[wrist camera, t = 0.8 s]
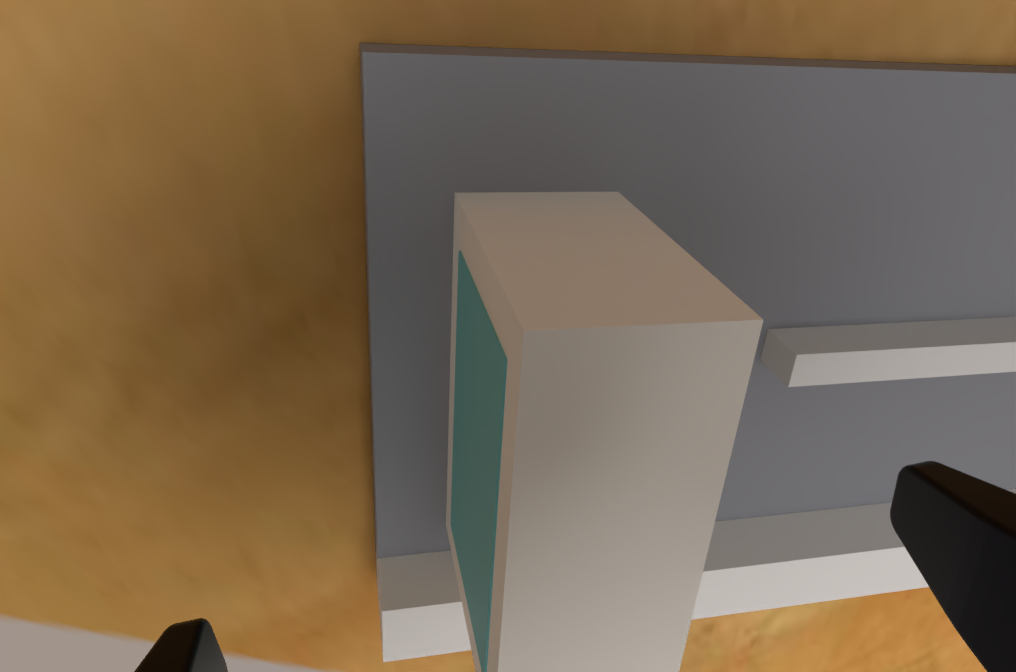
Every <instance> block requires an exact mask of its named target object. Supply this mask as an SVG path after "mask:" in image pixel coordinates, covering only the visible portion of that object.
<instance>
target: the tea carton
mask: <svg viewBox="0 0 1016 672" xmlns="http://www.w3.org/2000/svg"><path fill="white" fill-rule="evenodd" d="M762 324H763V319H762V318H761V317H760V316H759V315H758V314H757V313H756V312H754V311H753V310H752V309H751V308H750V307H749V306H748V305H746V304H745V303H744V302H743V301H742V300H741V299H740V298H738V297H737V296H736V295H735V294H734V293H733V292H732V291H731V290H729V289H728V288H727V287H726V286H725V285H724V284H723V283H721V282H720V281H719V280H718V279H717V278H716V277H715V276H713V275H712V274H711V273H710V272H709V271H708V270H707V269H705V268H704V267H703V266H702V265H701V264H700V263H699V262H698V261H696V260H695V259H694V258H693V257H692V256H691V255H690V254H688V253H687V252H686V251H685V250H684V249H683V248H682V247H680V246H679V245H678V244H677V243H676V242H675V241H674V240H673V239H671V238H670V237H669V236H668V235H667V234H666V233H665V232H663V231H662V230H661V229H660V228H659V227H658V226H657V225H655V224H654V223H653V222H652V221H651V220H650V219H649V218H648V217H646V216H645V215H644V214H643V213H642V212H641V211H640V210H638V209H637V208H636V207H635V206H634V205H633V204H632V203H630V202H629V201H628V200H627V199H626V198H625V197H624V196H623V195H621V194H620V193H619V192H471V193H455V197H454V236H453V274H452V312H451V351H450V389H449V428H448V466H447V505H446V528H447V533H448V538H449V543H450V547H451V552H452V557H453V562H454V567H455V572H456V577H457V582H458V587H459V591H460V596H461V601H462V606H463V611H464V616H465V621H466V626H467V631H468V635H469V640H470V645H471V650H472V655H473V660H474V665H475V670H476V672H679V669H680V665H681V661H682V657H683V652H684V648H685V644H686V640H687V636H688V632H689V628H690V623H691V619H692V615H693V611H694V607H695V603H696V598H697V594H698V590H699V586H700V582H701V578H702V573H703V569H704V565H705V561H706V557H707V553H708V549H709V544H710V540H711V536H712V532H713V528H714V524H715V519H716V515H717V511H718V507H719V503H720V499H721V495H722V490H723V486H724V482H725V478H726V474H727V470H728V465H729V461H730V457H731V453H732V449H733V445H734V441H735V436H736V432H737V428H738V424H739V420H740V416H741V411H742V407H743V403H744V399H745V395H746V391H747V386H748V382H749V378H750V374H751V370H752V366H753V362H754V357H755V353H756V349H757V345H758V341H759V337H760V332H761V328H762Z"/></svg>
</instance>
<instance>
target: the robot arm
mask: <svg viewBox="0 0 1016 672" xmlns="http://www.w3.org/2000/svg"><path fill="white" fill-rule="evenodd" d="M890 519H891V523H892V526H893V528H894V530H895V532H896V534H897V535H898V537H899V539H900V540H901V542H902V544H903V545H904V547H905V548H906V550H907V552H908V553H909V555H910V557H911V558H912V560H913V561H914V563H915V565H916V566H917V568H918V570H919V571H920V573H921V574H922V576H923V578H924V579H925V581H926V583H927V584H928V586H929V587H930V589H931V591H932V592H933V594H934V595H935V597H936V599H937V600H938V602H939V604H940V605H941V607H942V608H943V610H944V612H945V613H946V615H947V616H948V618H949V619H950V621H951V622H952V624H953V626H954V627H955V629H956V630H957V631H958V633H959V634H960V636H961V637H962V638H963V640H964V641H965V643H966V644H967V645H968V647H969V648H970V649H971V651H972V652H973V653H974V655H975V656H976V657H977V659H978V660H979V661H980V663H981V664H982V665H983V667H984V668H985V669H986V671H987V672H1016V494H1015V493H1013V492H1010V491H1008V490H1005V489H1003V488H1001V487H998V486H996V485H993V484H991V483H988V482H986V481H983V480H981V479H978V478H976V477H973V476H971V475H968V474H966V473H963V472H961V471H958V470H956V469H953V468H951V467H948V466H946V465H944V464H941V463H938V462H935V461H925V462H920V463H915V464H911V465H906V466H904V467H903V468H902V469H901V470H900V471H899V473H898V477H897V481H896V486H895V490H894V495H893V499H892V504H891V508H890ZM134 672H228V671H227V666H226V663H225V659H224V657H223V654H222V652H221V649H220V647H219V644H218V642H217V639H216V637H215V634H214V632H213V629H212V627H211V625H210V623H209V622H208V621H207V620H206V619H203V618H199V619H194V620H190V621H185V622H181V623H176V624H173V625H171V626H169V627H168V628H167V629H166V630H165V631H164V632H163V634H162V635H161V636H160V638H159V639H158V640H157V642H156V643H155V644H154V646H153V647H152V649H151V650H150V651H149V653H148V654H147V655H146V657H145V658H144V659H143V661H142V662H141V664H140V665H139V666H138V667H137V669H136V670H135V671H134Z"/></svg>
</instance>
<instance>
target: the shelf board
mask: <svg viewBox="0 0 1016 672" xmlns="http://www.w3.org/2000/svg"><path fill="white" fill-rule="evenodd" d="M360 71H361V103H362V135H363V167H364V199H365V231H366V263H367V296H368V328H369V360H370V392H371V424H372V456H373V488H374V521H375V553H376V577H377V589H378V602H379V614H380V627H381V639H382V652H383V662H388V661H396V660H403V659H410V658H417V657H425V656H432V655H439V654H446V653H454V652H461V651H468V650H471V645H470V640H469V635H468V631H467V626H466V621H465V616H464V611H463V606H462V601H461V596H460V591H459V587H458V582H457V577H456V572H455V567H454V562H453V557H452V552H451V547H450V543H449V538H448V533H447V528H446V505H447V466H448V428H449V389H450V351H451V312H452V274H453V236H454V197H455V193H471V192H619V193H620V194H621V195H623V196H624V197H625V198H626V199H627V200H628V201H629V202H630V203H632V204H633V205H634V206H635V207H636V208H637V209H638V210H640V211H641V212H642V213H643V214H644V215H645V216H646V217H648V218H649V219H650V220H651V221H652V222H653V223H654V224H655V225H657V226H658V227H659V228H660V229H661V230H662V231H663V232H665V233H666V234H667V235H668V236H669V237H670V238H671V239H673V240H674V241H675V242H676V243H677V244H678V245H679V246H680V247H682V248H683V249H684V250H685V251H686V252H687V253H688V254H690V255H691V256H692V257H693V258H694V259H695V260H696V261H698V262H699V263H700V264H701V265H702V266H703V267H704V268H705V269H707V270H708V271H709V272H710V273H711V274H712V275H713V276H715V277H716V278H717V279H718V280H719V281H720V282H721V283H723V284H724V285H725V286H726V287H727V288H728V289H729V290H731V291H732V292H733V293H734V294H735V295H736V296H737V297H738V298H740V299H741V300H742V301H743V302H744V303H745V304H746V305H748V306H749V307H750V308H751V309H752V310H753V311H754V312H756V313H757V314H758V315H759V316H760V317H761V318H762V319H763V324H762V328H761V332H760V337H759V341H758V345H757V349H756V353H755V357H754V362H753V366H752V370H751V374H750V378H749V382H748V386H747V391H746V395H745V399H744V403H743V407H742V411H741V416H740V420H739V424H738V428H737V432H736V436H735V441H734V445H733V449H732V453H731V457H730V461H729V465H728V470H727V474H726V478H725V482H724V486H723V490H722V495H721V499H720V503H719V507H718V511H717V515H716V519H715V524H714V528H713V532H712V536H711V540H710V544H709V549H708V553H707V557H706V561H705V565H704V569H703V573H702V578H701V582H700V586H699V590H698V594H697V598H696V603H695V607H694V611H693V615H692V619H700V618H707V617H714V616H721V615H729V614H736V613H743V612H750V611H758V610H765V609H772V608H779V607H786V606H794V605H801V604H808V603H815V602H823V601H830V600H837V599H844V598H852V597H859V596H866V595H873V594H881V593H888V592H895V591H902V590H910V589H917V588H924V587H929V586H928V584H927V583H926V581H925V579H924V578H923V576H922V574H921V573H920V571H919V570H918V568H917V566H916V565H915V563H914V561H913V560H912V558H911V557H910V555H909V553H908V552H907V550H906V548H905V547H904V545H903V544H902V542H901V540H900V539H899V537H898V535H897V534H896V532H895V530H894V528H893V526H892V523H891V519H890V508H891V504H892V499H893V495H894V490H895V486H896V481H897V477H898V473H899V471H900V470H901V469H902V468H903V467H904V466H906V465H911V464H915V463H920V462H925V461H935V462H938V463H941V464H944V465H946V466H948V467H951V468H953V469H956V470H958V471H961V472H963V473H966V474H968V475H971V476H973V477H976V478H978V479H981V480H983V481H986V482H988V483H991V484H993V485H996V486H998V487H1001V488H1003V489H1005V490H1008V491H1010V492H1013V493H1015V494H1016V66H988V65H961V64H933V63H905V62H877V61H849V60H821V59H793V58H765V57H737V56H709V55H681V54H653V53H625V52H598V51H570V50H542V49H514V48H486V47H458V46H430V45H402V44H374V43H360ZM692 619H691V620H692Z"/></svg>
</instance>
